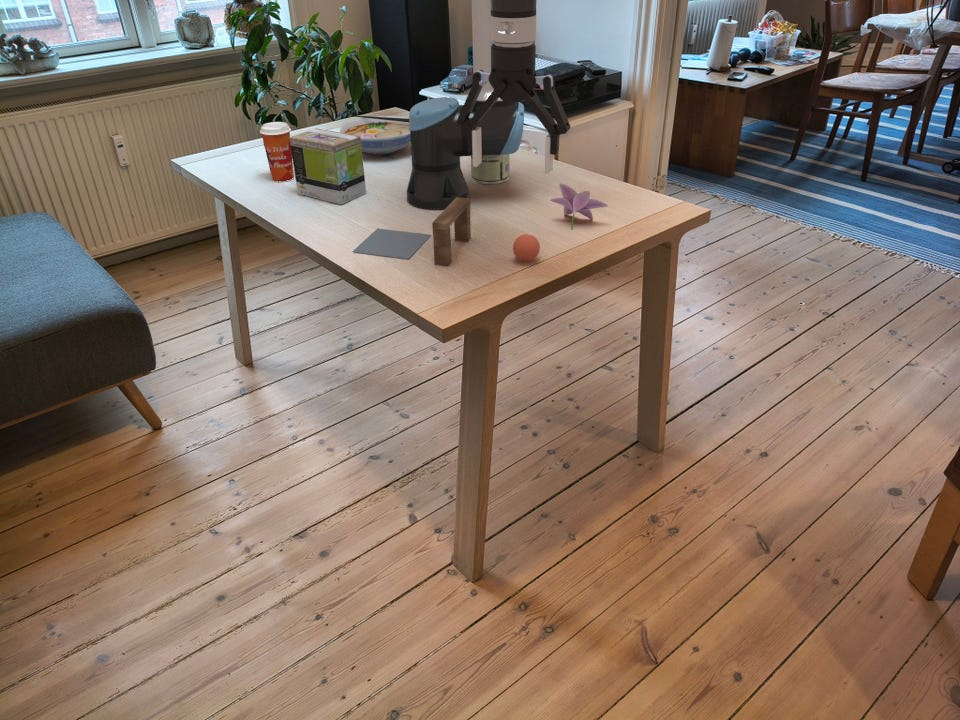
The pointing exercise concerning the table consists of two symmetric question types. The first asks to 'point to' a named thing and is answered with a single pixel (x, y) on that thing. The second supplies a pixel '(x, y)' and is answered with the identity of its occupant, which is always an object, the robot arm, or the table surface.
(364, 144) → the ramen bowl
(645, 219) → the table surface
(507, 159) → the coffee can
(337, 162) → the tea box
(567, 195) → the lily
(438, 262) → the bridge
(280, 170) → the paper cup
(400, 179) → the table surface
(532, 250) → the ball
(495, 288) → the table surface
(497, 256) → the table surface
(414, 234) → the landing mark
